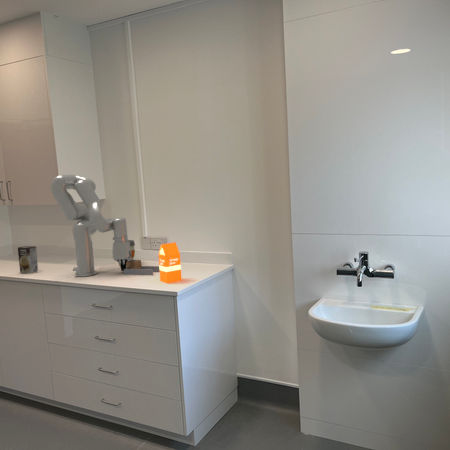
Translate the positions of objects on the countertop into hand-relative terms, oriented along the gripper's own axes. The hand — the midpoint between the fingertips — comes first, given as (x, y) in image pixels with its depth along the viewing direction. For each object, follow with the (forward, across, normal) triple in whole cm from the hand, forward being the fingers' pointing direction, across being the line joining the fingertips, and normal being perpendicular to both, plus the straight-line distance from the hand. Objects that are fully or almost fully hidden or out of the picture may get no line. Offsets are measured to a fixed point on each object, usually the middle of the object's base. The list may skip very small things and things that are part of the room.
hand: (123, 270), depth 270 cm
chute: (+2, +12, 0) cm, 12 cm away
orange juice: (+3, +36, -12) cm, 38 cm away
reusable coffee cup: (+2, -14, +25) cm, 29 cm away
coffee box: (+1, -66, -3) cm, 66 cm away
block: (+1, +7, 0) cm, 7 cm away
